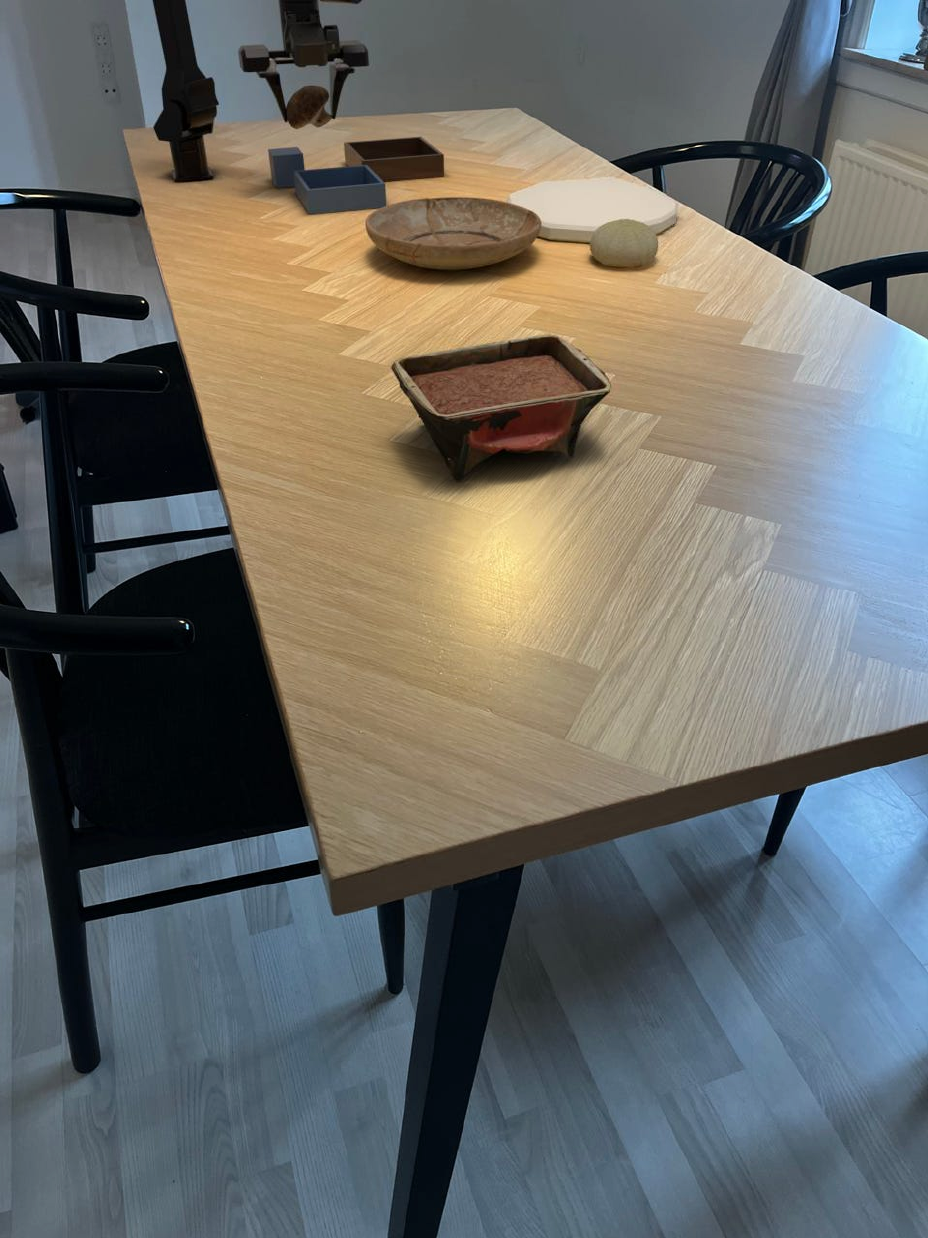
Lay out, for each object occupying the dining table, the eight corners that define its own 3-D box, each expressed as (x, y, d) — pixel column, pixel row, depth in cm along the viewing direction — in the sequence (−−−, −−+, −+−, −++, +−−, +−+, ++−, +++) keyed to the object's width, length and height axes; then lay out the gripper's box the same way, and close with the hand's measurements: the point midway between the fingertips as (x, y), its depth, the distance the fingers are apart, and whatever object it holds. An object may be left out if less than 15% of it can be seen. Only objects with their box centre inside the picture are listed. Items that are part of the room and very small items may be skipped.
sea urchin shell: (676, 242, 127) (657, 207, 120) (647, 294, 127) (627, 262, 120) (620, 228, 132) (599, 193, 125) (592, 279, 132) (570, 247, 125)
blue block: (271, 180, 160) (267, 148, 157) (301, 178, 161) (297, 146, 158) (276, 188, 156) (272, 155, 153) (306, 185, 158) (303, 153, 155)
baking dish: (605, 487, 85) (629, 378, 79) (413, 490, 79) (425, 373, 74) (546, 427, 96) (564, 329, 91) (375, 426, 91) (383, 321, 85)
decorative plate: (548, 220, 128) (486, 175, 146) (546, 252, 130) (486, 204, 149) (711, 203, 134) (633, 162, 152) (707, 234, 136) (630, 190, 155)
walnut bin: (345, 163, 169) (343, 142, 167) (421, 157, 173) (421, 136, 170) (363, 183, 159) (362, 160, 157) (444, 176, 162) (443, 154, 160)
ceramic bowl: (544, 285, 120) (546, 244, 117) (359, 285, 120) (356, 245, 117) (536, 230, 138) (537, 193, 135) (375, 230, 138) (373, 194, 135)
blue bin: (295, 193, 154) (292, 170, 152) (368, 187, 157) (367, 164, 154) (309, 214, 145) (306, 190, 143) (386, 207, 148) (385, 183, 145)
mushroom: (350, 101, 146) (322, 65, 143) (330, 132, 143) (301, 96, 139) (317, 123, 152) (290, 88, 148) (297, 153, 148) (269, 119, 145)
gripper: (239, 9, 129) (255, 135, 138) (373, 4, 133) (380, 127, 142) (230, 0, 137) (246, 120, 147) (357, -5, 141) (364, 112, 151)
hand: (309, 120), depth 146 cm, fingers closed on mushroom, 7 cm apart
